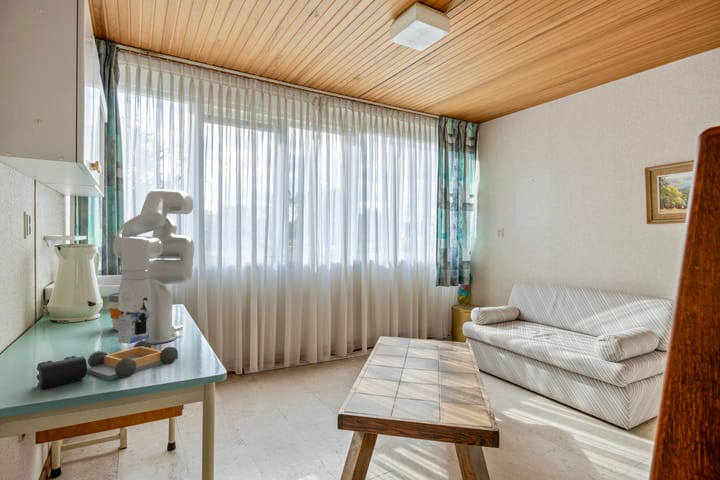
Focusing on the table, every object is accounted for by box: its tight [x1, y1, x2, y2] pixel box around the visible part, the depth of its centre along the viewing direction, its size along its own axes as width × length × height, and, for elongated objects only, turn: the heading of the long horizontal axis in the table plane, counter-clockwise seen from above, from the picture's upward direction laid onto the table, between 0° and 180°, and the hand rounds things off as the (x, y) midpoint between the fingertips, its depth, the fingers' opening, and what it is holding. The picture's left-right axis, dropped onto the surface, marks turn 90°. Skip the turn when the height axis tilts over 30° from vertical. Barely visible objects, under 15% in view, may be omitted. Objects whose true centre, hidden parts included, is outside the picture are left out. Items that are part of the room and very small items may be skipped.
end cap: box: [36, 355, 88, 390], centre depth 105 cm, size 10×7×7 cm
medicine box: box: [118, 311, 150, 345], centre depth 120 cm, size 8×4×9 cm, turn 167°
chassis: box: [86, 340, 179, 381], centre depth 120 cm, size 22×16×5 cm
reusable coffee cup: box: [108, 292, 122, 331], centre depth 167 cm, size 13×13×15 cm
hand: (134, 332), depth 120 cm, fingers closed on medicine box, 5 cm apart
